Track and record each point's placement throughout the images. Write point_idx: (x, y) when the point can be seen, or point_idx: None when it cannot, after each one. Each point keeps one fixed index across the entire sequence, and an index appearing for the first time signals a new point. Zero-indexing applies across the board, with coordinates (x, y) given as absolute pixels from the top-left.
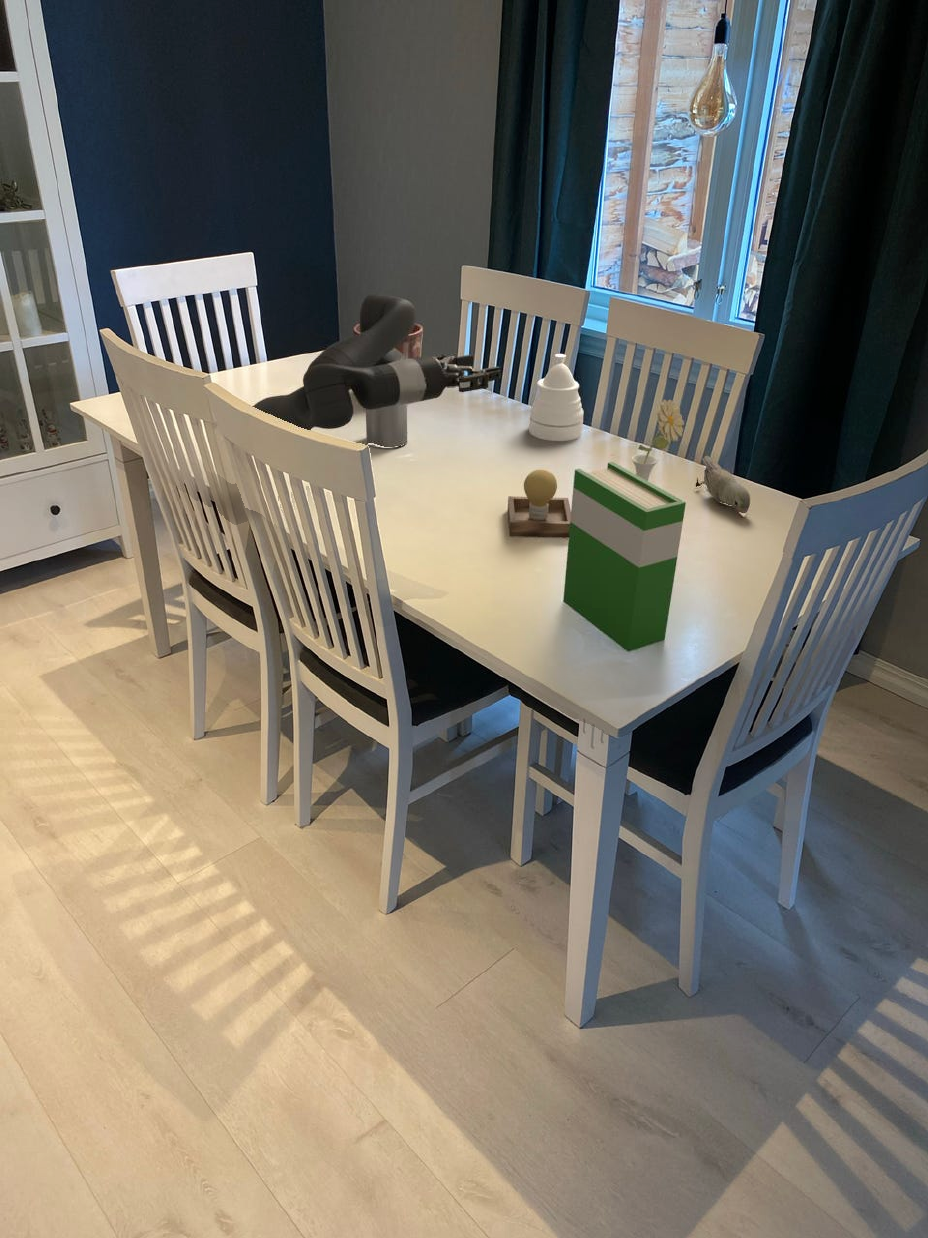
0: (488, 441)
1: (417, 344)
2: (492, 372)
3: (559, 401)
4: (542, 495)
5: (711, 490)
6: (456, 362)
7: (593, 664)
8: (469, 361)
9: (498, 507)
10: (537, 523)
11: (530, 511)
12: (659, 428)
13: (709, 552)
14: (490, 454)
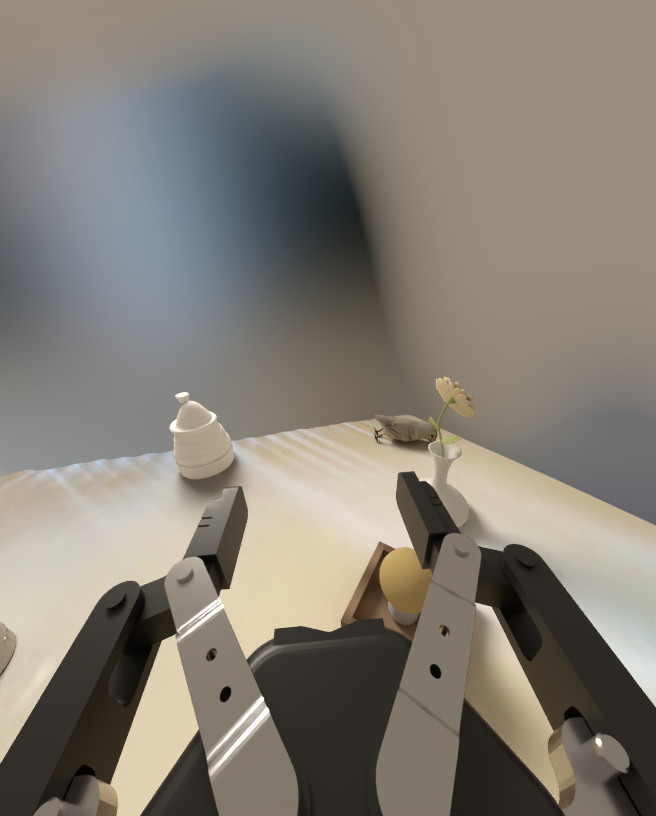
0: (157, 522)
1: None
2: (448, 513)
3: (210, 436)
4: None
5: (403, 436)
6: (216, 569)
7: None
8: (240, 511)
9: None
10: None
11: (406, 620)
12: (474, 410)
13: (505, 489)
14: (183, 541)
